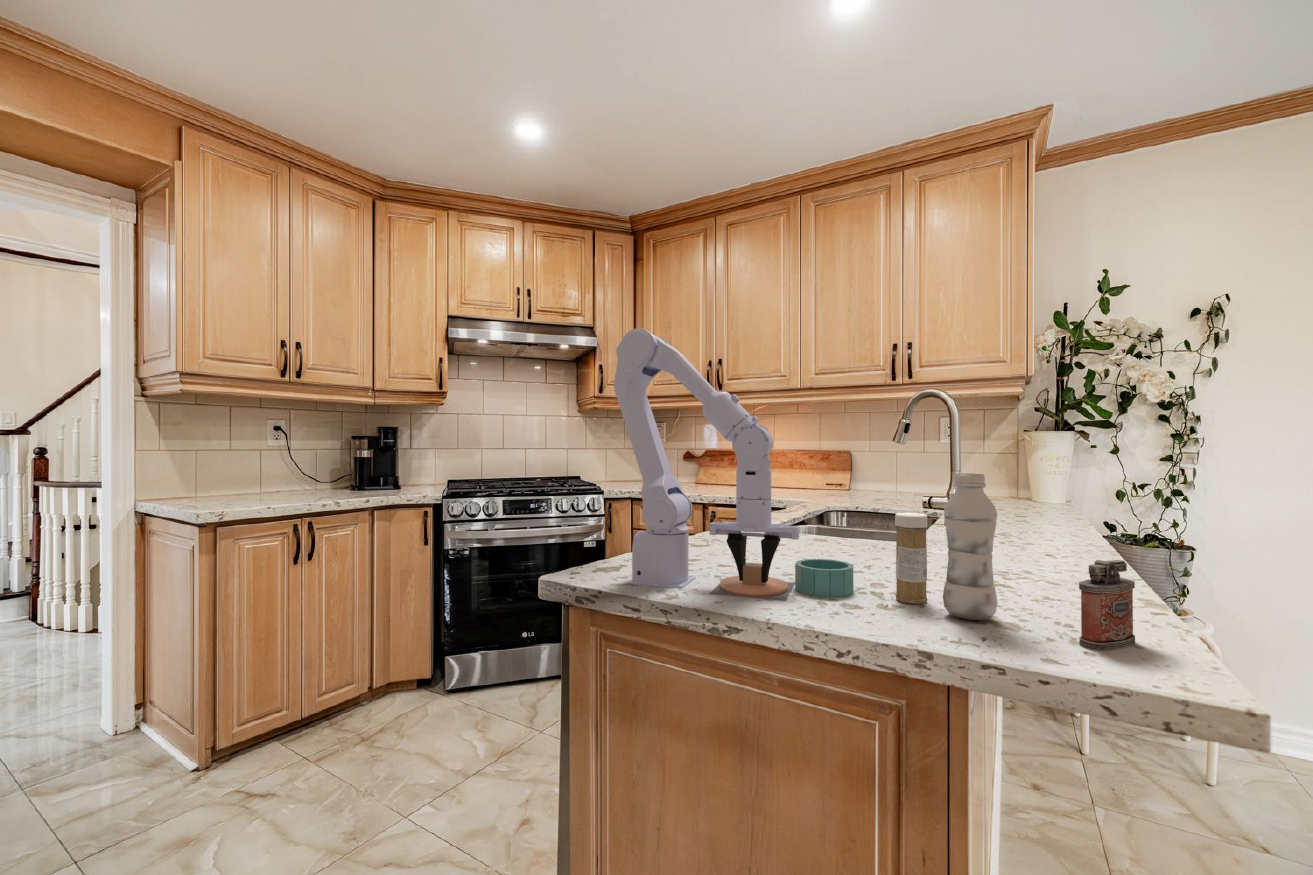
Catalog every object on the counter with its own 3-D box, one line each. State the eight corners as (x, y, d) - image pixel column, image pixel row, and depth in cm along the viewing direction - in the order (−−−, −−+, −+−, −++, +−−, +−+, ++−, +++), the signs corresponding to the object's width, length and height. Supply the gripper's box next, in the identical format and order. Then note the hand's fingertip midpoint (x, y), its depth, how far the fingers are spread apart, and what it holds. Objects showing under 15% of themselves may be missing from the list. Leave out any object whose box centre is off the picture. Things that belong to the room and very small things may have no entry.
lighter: (1102, 653, 67) (1101, 566, 67) (1071, 643, 70) (1071, 560, 70) (1143, 643, 70) (1142, 560, 71) (1111, 635, 74) (1111, 556, 74)
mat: (709, 595, 92) (709, 593, 92) (726, 579, 104) (726, 577, 104) (785, 602, 88) (785, 600, 88) (795, 585, 99) (795, 582, 99)
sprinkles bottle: (904, 595, 93) (904, 511, 93) (933, 601, 89) (932, 513, 89) (889, 600, 90) (889, 513, 90) (918, 606, 86) (918, 516, 86)
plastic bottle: (952, 608, 85) (951, 472, 86) (1004, 618, 80) (1003, 474, 81) (935, 617, 81) (934, 473, 81) (989, 628, 76) (988, 475, 76)
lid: (712, 592, 93) (712, 568, 93) (728, 578, 103) (728, 556, 103) (782, 599, 89) (782, 574, 89) (791, 583, 99) (791, 560, 99)
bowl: (792, 596, 92) (792, 567, 92) (799, 583, 101) (799, 557, 101) (852, 601, 89) (852, 572, 89) (854, 587, 98) (853, 561, 98)
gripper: (704, 498, 95) (704, 582, 95) (795, 501, 90) (795, 589, 90) (715, 495, 101) (715, 573, 101) (800, 497, 96) (800, 579, 96)
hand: (753, 580), depth 96 cm, fingers closed on lid, 3 cm apart
